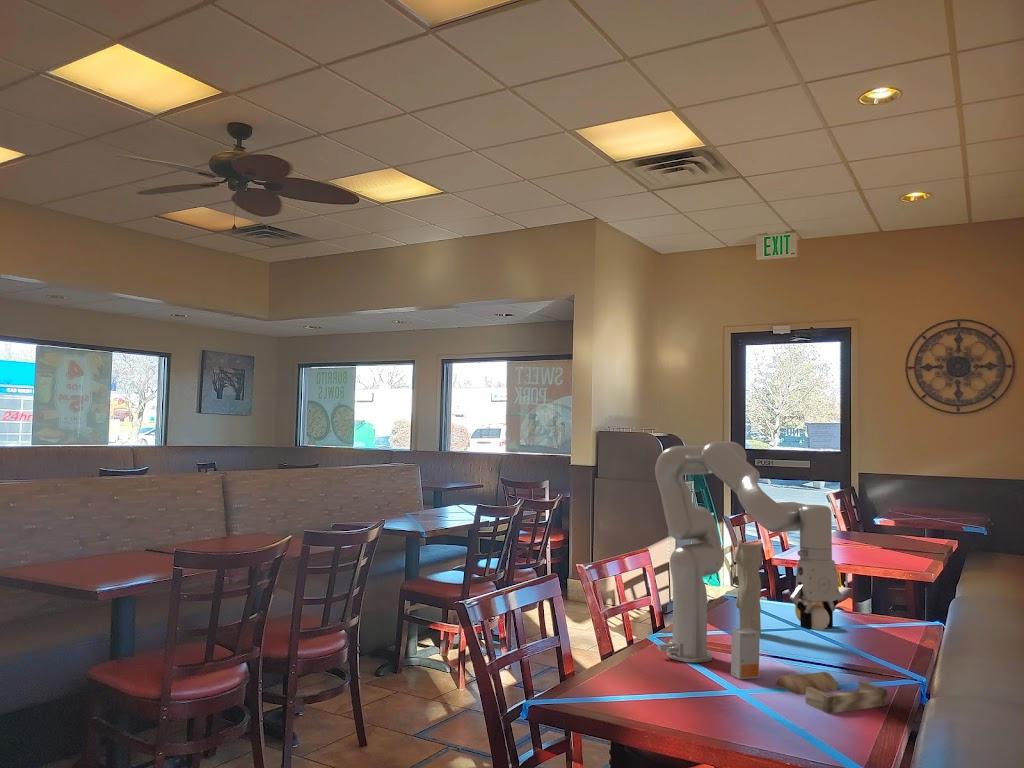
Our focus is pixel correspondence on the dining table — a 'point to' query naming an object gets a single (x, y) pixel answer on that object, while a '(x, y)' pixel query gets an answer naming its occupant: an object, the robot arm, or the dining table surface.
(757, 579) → the vase
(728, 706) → the dining table surface
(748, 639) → the skincare box
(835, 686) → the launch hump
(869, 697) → the rail
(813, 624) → the ball
